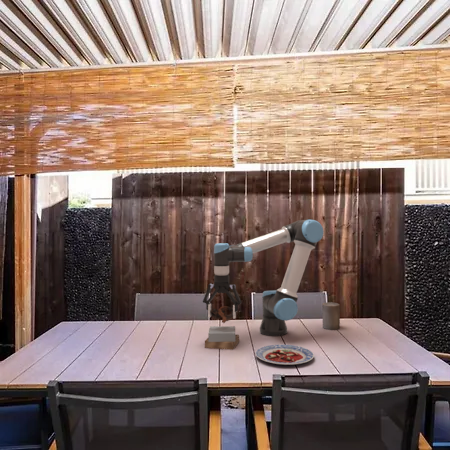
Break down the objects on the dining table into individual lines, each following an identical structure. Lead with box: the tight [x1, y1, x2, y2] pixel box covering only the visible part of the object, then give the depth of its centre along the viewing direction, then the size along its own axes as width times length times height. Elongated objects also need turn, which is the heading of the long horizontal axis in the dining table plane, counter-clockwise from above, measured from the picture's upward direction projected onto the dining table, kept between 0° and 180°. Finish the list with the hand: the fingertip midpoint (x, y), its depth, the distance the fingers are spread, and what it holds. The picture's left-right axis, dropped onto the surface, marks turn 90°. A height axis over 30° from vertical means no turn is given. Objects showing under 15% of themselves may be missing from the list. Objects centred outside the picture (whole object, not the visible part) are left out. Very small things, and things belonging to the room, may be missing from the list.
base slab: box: [204, 333, 240, 351], centre depth 193 cm, size 14×14×4 cm
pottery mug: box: [210, 305, 233, 324], centre depth 193 cm, size 12×10×8 cm
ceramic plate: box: [254, 344, 315, 366], centre depth 172 cm, size 26×26×3 cm
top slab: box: [207, 325, 236, 342], centre depth 193 cm, size 13×13×4 cm
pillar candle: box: [321, 301, 341, 331], centre depth 221 cm, size 10×10×15 cm
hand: (222, 317), depth 193 cm, fingers closed on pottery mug, 12 cm apart
